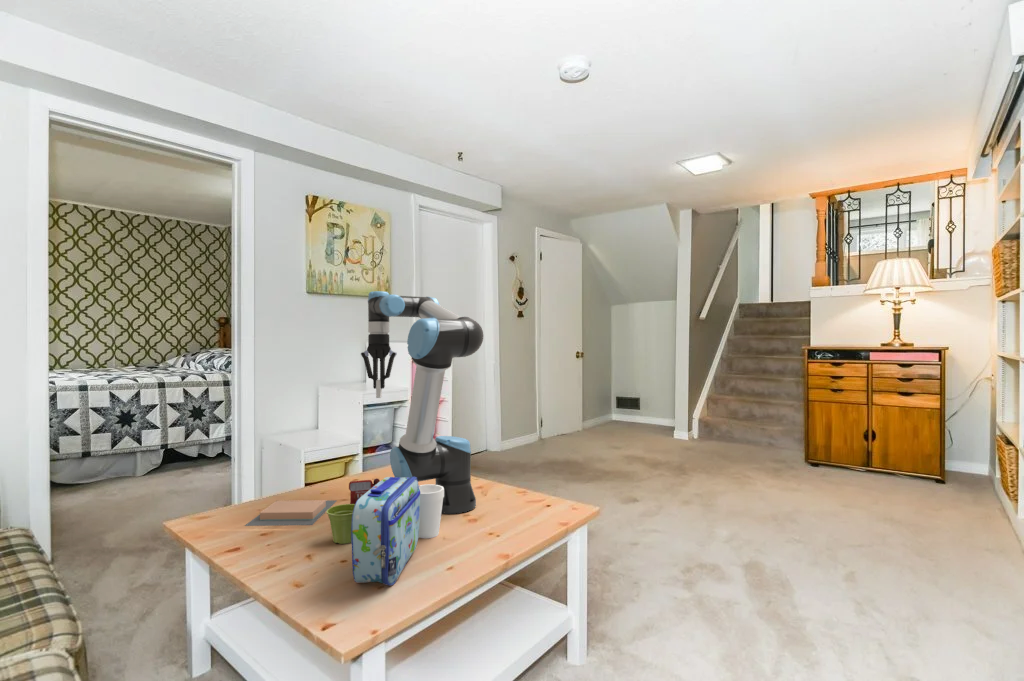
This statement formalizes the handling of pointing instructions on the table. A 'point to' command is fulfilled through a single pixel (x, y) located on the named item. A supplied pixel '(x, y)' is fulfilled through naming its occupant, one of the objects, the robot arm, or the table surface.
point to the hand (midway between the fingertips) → (379, 397)
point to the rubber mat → (257, 521)
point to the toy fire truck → (360, 489)
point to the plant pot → (341, 522)
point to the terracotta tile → (293, 510)
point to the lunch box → (385, 529)
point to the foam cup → (430, 510)
